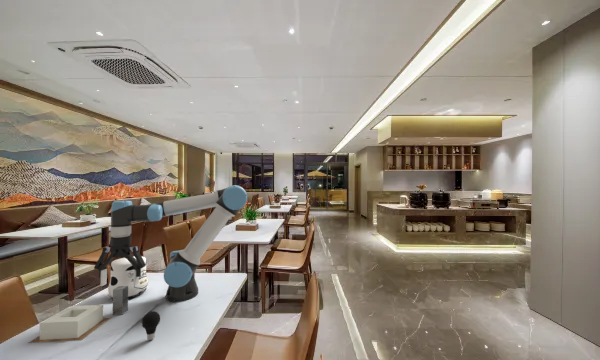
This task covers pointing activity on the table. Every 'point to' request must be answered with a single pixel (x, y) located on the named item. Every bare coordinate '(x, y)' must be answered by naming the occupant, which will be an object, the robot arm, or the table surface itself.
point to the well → (71, 322)
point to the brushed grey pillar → (120, 300)
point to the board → (73, 338)
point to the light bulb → (151, 323)
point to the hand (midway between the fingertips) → (119, 284)
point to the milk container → (127, 277)
